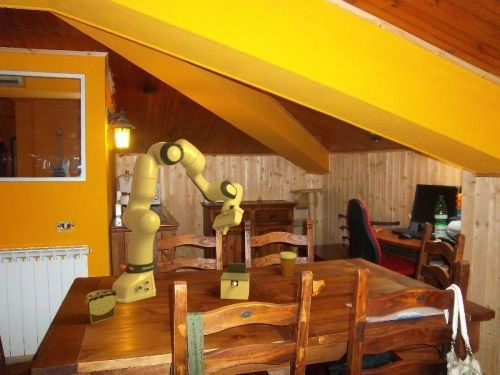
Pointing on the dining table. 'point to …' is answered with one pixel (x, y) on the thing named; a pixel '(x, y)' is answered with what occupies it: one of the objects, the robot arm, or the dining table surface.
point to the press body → (241, 287)
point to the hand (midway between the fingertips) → (222, 234)
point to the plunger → (236, 270)
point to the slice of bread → (318, 287)
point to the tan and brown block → (101, 305)
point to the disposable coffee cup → (287, 263)
